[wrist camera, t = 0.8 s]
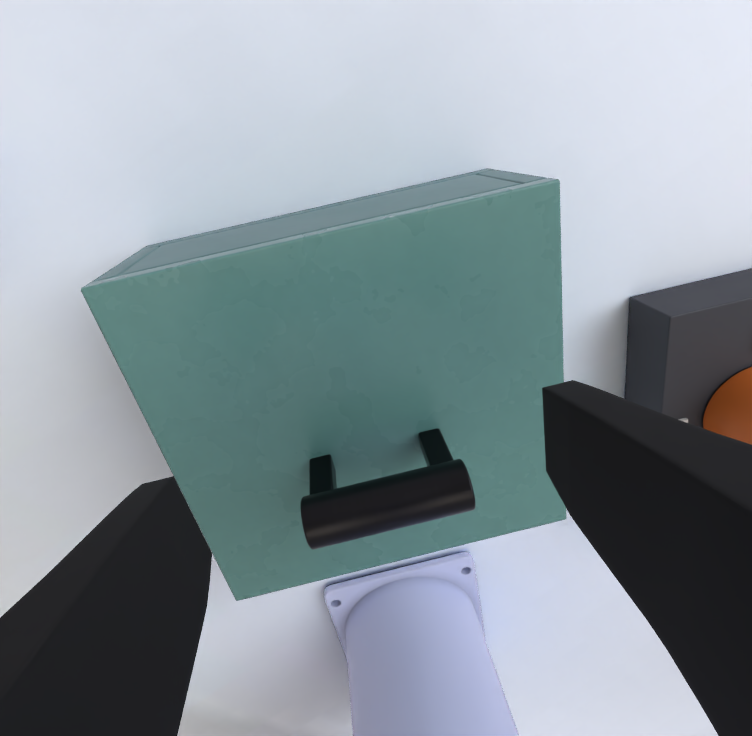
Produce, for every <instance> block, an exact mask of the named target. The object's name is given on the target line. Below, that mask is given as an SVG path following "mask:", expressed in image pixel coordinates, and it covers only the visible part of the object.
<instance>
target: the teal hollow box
mask: <svg viewBox="0 0 752 736" xmlns="http://www.w3.org/2000/svg"><path fill="white" fill-rule="evenodd" d="M542 179H546V178H545V177H539V176H532V175H526V174H519V173H513V172H506V171H500V170H494V169H484V170H479V171H475V172H471V173H466V174H462V175H457V176H453V177H449V178H444V179H440V180H435V181H431V182H427V183H422V184H418V185H413V186H409V187H404V188H400V189H396V190H391V191H387V192H382V193H378V194H374V195H369V196H365V197H360V198H356V199H352V200H347V201H343V202H338V203H334V204H329V205H325V206H321V207H316V208H312V209H307V210H303V211H299V212H294V213H290V214H285V215H281V216H277V217H272V218H268V219H263V220H259V221H254V222H250V223H246V224H241V225H237V226H232V227H228V228H224V229H219V230H215V231H210V232H206V233H202V234H197V235H193V236H188V237H184V238H179V239H175V240H171V241H166V242H162V243H157V244H153V245H149V246H146V247H144V248H143V249H141V250H140V251H138V252H137V253H135V254H134V255H132V256H131V257H129V258H128V259H126V260H125V261H123V262H121V263H120V264H118V265H117V266H115V267H114V268H112V269H111V270H109V271H108V272H106V273H104V274H103V275H101V276H100V277H98V278H97V279H95V280H94V281H92V282H95V281H99V280H103V279H108V278H112V277H116V276H121V275H125V274H130V273H134V272H138V271H143V270H147V269H152V268H156V267H160V266H165V265H169V264H173V263H178V262H182V261H187V260H191V259H195V258H200V257H204V256H209V255H213V254H217V253H222V252H226V251H230V250H235V249H239V248H244V247H248V246H252V245H257V244H261V243H266V242H270V241H274V240H279V239H283V238H287V237H292V236H296V235H301V234H305V233H309V232H314V231H318V230H323V229H327V228H331V227H336V226H340V225H344V224H349V223H353V222H358V221H362V220H366V219H371V218H375V217H380V216H384V215H388V214H393V213H397V212H401V211H406V210H410V209H415V208H419V207H423V206H428V205H432V204H437V203H441V202H445V201H450V200H454V199H458V198H463V197H467V196H472V195H476V194H480V193H485V192H489V191H494V190H498V189H502V188H507V187H511V186H515V185H520V184H524V183H529V182H533V181H537V180H542Z"/></svg>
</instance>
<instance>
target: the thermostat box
mask: <svg viewBox="0 0 752 736" xmlns="http://www.w3.org/2000/svg"><path fill="white" fill-rule="evenodd" d="M750 367H752V269H748V270H744V271H740V272H735V273H731V274H727V275H723V276H718V277H714V278H710V279H706V280H701V281H697V282H693V283H689V284H685V285H680V286H676V287H672V288H668V289H663V290H659V291H655V292H651V293H646V294H642V295H638V296H634V297H630V309H629V330H628V350H627V371H626V391H625V399H626V400H628V401H631V402H634V403H636V404H639V405H641V406H644V407H646V408H649V409H652V410H654V411H657V412H659V413H662V414H665V415H667V416H670V417H673V418H675V419H678V420H681V421H684V422H686V423H689V424H692V425H695V426H698V427H700V428H703V417H704V412H705V409H706V407H707V405H708V403H709V401H710V399H711V398H712V396H713V395H714V393H715V392H716V391H717V390H718V389H719V388H720V386H721V385H723V384H724V383H725V382H726V381H727V380H728V379H730V378H731V377H732V376H734V375H735V374H737V373H739V372H741V371H743V370H745V369H747V368H750ZM703 429H704V428H703Z"/></svg>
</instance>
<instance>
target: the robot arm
mask: <svg viewBox="0 0 752 736" xmlns="http://www.w3.org/2000/svg"><path fill="white" fill-rule="evenodd" d="M542 396H543V417H544V438H545V459H546V472H547V474H548V476H549V477H550V479H551V481H552V483H553V485H554V487H555V489H556V491H557V492H558V494H559V496H560V498H561V500H562V501H563V503H564V505H565V507H566V508H567V510H568V512H569V514H570V515H571V517H572V518H573V520H574V521H575V522H576V524H577V525H578V527H579V528H580V529H581V531H582V532H583V534H584V535H585V536H586V538H587V539H588V540H589V542H590V543H591V545H592V546H593V547H594V549H595V550H596V551H597V553H598V554H599V555H600V557H601V558H602V560H603V561H604V562H605V564H606V565H607V566H608V568H609V569H610V570H611V572H612V573H613V574H614V576H615V577H616V579H617V580H618V581H619V583H620V584H621V585H622V587H623V588H624V589H625V591H626V592H627V593H628V595H629V596H630V598H631V599H632V600H633V602H634V603H635V604H636V606H637V607H638V608H639V610H640V611H641V612H642V614H643V615H644V616H645V618H646V619H647V621H648V622H649V624H650V625H651V626H652V628H653V629H654V631H655V632H656V634H657V635H658V637H659V638H660V640H661V641H662V643H663V644H664V646H665V647H666V649H667V650H668V652H669V654H670V655H671V657H672V659H673V660H674V662H675V663H676V665H677V667H678V668H679V670H680V672H681V673H682V675H683V677H684V678H685V680H686V682H687V683H688V685H689V686H690V688H691V690H692V691H693V693H694V695H695V696H696V698H697V700H698V701H699V703H700V705H701V706H702V708H703V710H704V711H705V713H706V715H707V716H708V718H709V720H710V722H711V723H712V725H713V727H714V728H715V730H716V732H717V734H718V735H719V736H752V445H751V444H748V443H745V442H742V441H739V440H736V439H733V438H730V437H727V436H724V435H721V434H717V433H715V432H712V431H709V430H706V429H703V428H700V427H698V426H695V425H692V424H689V423H686V422H684V421H681V420H678V419H675V418H673V417H670V416H667V415H665V414H662V413H659V412H657V411H654V410H652V409H649V408H646V407H644V406H641V405H639V404H636V403H634V402H631V401H628V400H626V399H623V398H621V397H618V396H616V395H613V394H610V393H608V392H605V391H602V390H600V389H597V388H594V387H592V386H589V385H586V384H583V383H580V382H577V381H573V380H572V381H568V382H564V383H560V384H555V385H551V386H547V387H543V388H542ZM211 559H212V552H211V550H210V548H209V546H208V544H207V542H206V540H205V538H204V536H203V534H202V532H201V530H200V528H199V526H198V524H197V522H196V520H195V518H194V516H193V514H192V512H191V510H190V508H189V506H188V504H187V502H186V500H185V498H184V496H183V494H182V492H181V490H180V488H179V486H178V484H177V482H176V480H175V478H174V476H173V477H169V478H165V479H161V480H157V481H153V482H149V483H144V484H142V485H140V486H139V487H138V488H137V489H136V490H134V491H133V492H132V493H131V494H130V495H129V496H127V497H126V498H125V499H124V500H123V501H122V502H121V503H120V504H119V505H118V506H117V507H116V508H115V509H114V510H113V511H112V512H110V513H109V514H108V515H107V516H106V517H105V518H104V519H103V520H102V521H101V522H100V523H99V524H98V525H97V526H96V527H95V528H94V529H93V530H92V531H91V532H90V533H89V534H88V535H87V536H86V537H85V538H84V539H83V540H82V541H81V542H80V543H79V544H78V545H77V546H76V547H75V548H74V549H73V550H72V551H71V552H70V553H69V554H68V555H67V556H66V557H64V558H63V559H62V560H61V561H60V562H59V563H58V564H57V565H56V566H55V567H54V568H53V569H52V570H51V571H50V572H49V573H48V574H47V575H46V576H45V577H44V578H43V579H42V580H41V581H40V582H39V583H37V584H36V585H35V586H34V587H33V588H32V589H31V590H30V591H29V592H28V593H27V594H26V595H24V596H23V597H22V598H21V599H20V600H19V601H18V602H17V603H16V604H15V605H14V606H12V607H11V608H10V609H9V610H8V611H7V612H6V613H5V614H4V615H3V616H2V617H1V618H0V736H177V734H178V730H179V725H180V721H181V717H182V712H183V708H184V704H185V700H186V695H187V691H188V687H189V683H190V678H191V674H192V670H193V666H194V661H195V657H196V653H197V648H198V644H199V639H200V635H201V631H202V626H203V622H204V617H205V612H206V608H207V601H208V592H209V583H210V571H211ZM465 567H466V568H465ZM324 600H325V602H326V605H327V608H328V610H329V613H330V616H331V618H332V621H333V624H334V626H335V629H336V632H337V634H338V637H339V640H340V643H341V645H342V648H343V651H344V653H345V656H346V659H347V661H348V675H349V689H350V702H351V716H352V730H353V736H519V734H518V731H517V728H516V725H515V722H514V720H513V717H512V714H511V711H510V708H509V705H508V703H507V700H506V697H505V694H504V691H503V688H502V686H501V683H500V680H499V677H498V674H497V671H496V669H495V666H494V663H493V660H492V657H491V654H490V652H489V649H488V646H487V643H486V639H485V632H484V625H483V619H482V612H481V605H480V598H479V592H478V585H477V578H476V571H475V564H474V560H473V557H472V555H471V554H470V553H468V552H461V553H457V554H453V555H449V556H445V557H441V558H437V559H433V560H429V561H425V562H421V563H417V564H413V565H409V566H405V567H401V568H397V569H393V570H389V571H385V572H381V573H377V574H373V575H369V576H365V577H361V578H357V579H353V580H349V581H345V582H341V583H337V584H333V585H330V586H328V587H326V588H325V590H324Z"/></svg>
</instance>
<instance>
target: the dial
mask: <svg viewBox="0 0 752 736" xmlns="http://www.w3.org/2000/svg"><path fill="white" fill-rule="evenodd" d="M703 428H704V429H706V430H709V431H712V432H715V433H717V434H721V435H724V436H727V437H730V438H733V439H736V440H739V441H742V442H745V443H748V444H751V445H752V367H750V368H747V369H745V370H743V371H741V372H739V373H737V374H735V375H734V376H732V377H731V378H730V379H728V380H727V381H726V382H725V383H724V384H723V385H721V386H720V388H719V389H718V390H717V391H716V392H715V393H714V395H713V396H712V398H711V399H710V401H709V403H708V405H707V407H706V409H705V412H704V417H703Z"/></svg>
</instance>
